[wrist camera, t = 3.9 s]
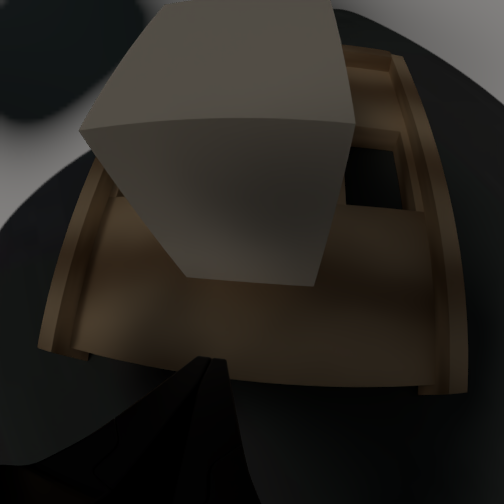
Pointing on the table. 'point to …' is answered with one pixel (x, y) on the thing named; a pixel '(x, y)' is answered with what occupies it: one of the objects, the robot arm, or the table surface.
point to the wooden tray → (286, 296)
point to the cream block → (231, 135)
